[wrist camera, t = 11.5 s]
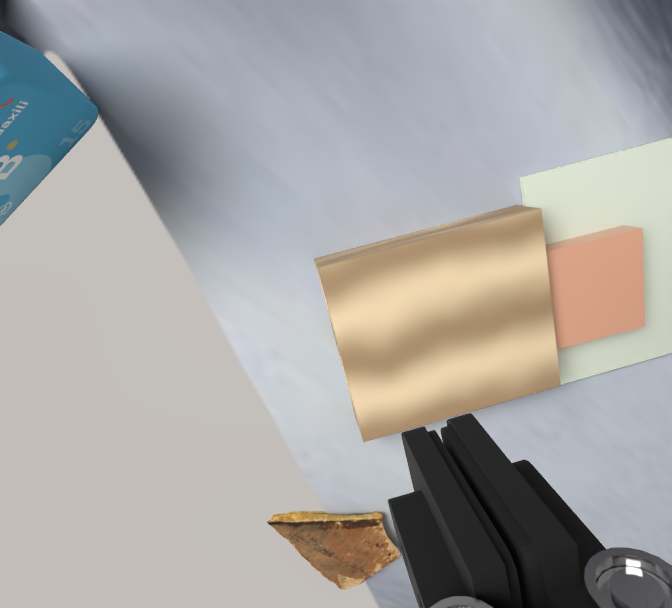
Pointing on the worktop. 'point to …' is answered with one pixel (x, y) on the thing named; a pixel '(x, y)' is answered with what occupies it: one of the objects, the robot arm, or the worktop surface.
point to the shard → (339, 543)
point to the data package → (35, 120)
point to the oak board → (443, 319)
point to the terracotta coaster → (596, 284)
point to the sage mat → (608, 212)
